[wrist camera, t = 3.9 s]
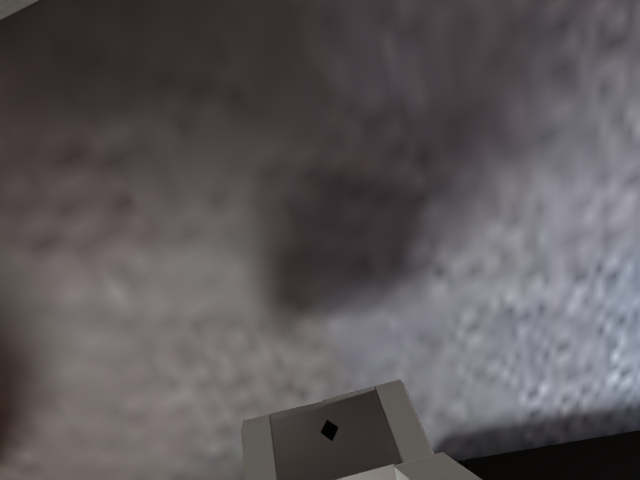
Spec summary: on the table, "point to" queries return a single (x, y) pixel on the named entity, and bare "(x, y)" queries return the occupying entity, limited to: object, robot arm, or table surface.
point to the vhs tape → (566, 461)
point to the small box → (13, 6)
